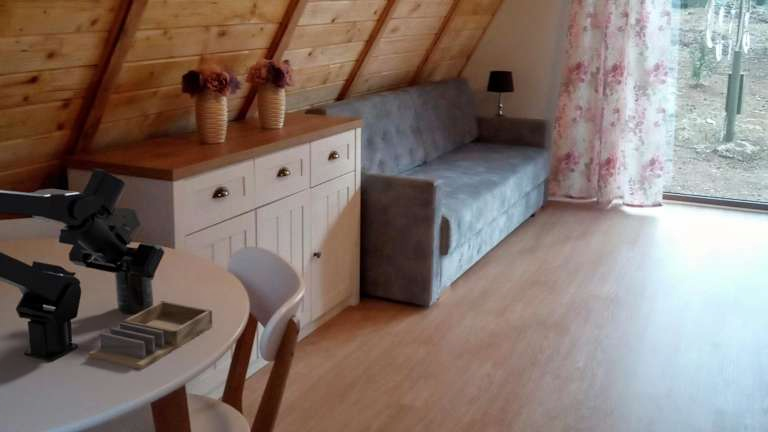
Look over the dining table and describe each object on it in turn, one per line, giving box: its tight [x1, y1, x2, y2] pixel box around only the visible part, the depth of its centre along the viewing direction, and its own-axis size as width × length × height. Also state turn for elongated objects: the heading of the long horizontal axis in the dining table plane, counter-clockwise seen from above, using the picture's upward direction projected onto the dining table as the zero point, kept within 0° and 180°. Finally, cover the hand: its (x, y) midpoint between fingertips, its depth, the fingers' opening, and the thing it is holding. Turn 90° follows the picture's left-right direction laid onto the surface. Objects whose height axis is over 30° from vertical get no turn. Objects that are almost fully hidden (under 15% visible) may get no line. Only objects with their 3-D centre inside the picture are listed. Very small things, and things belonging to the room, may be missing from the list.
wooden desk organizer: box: [88, 300, 213, 370], centre depth 148 cm, size 20×11×4 cm, turn 157°
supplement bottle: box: [114, 259, 154, 316], centre depth 162 cm, size 7×7×12 cm
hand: (138, 275), depth 163 cm, fingers closed on supplement bottle, 7 cm apart
